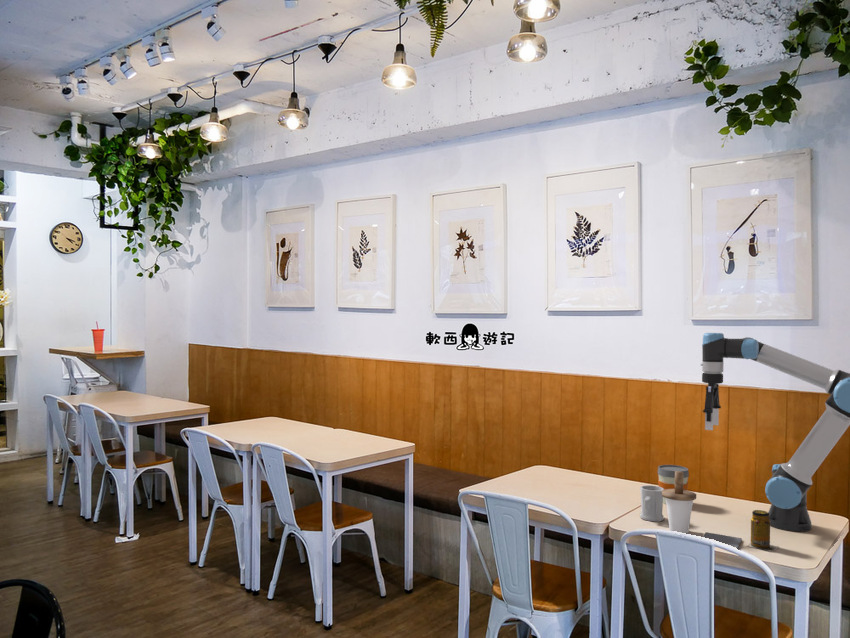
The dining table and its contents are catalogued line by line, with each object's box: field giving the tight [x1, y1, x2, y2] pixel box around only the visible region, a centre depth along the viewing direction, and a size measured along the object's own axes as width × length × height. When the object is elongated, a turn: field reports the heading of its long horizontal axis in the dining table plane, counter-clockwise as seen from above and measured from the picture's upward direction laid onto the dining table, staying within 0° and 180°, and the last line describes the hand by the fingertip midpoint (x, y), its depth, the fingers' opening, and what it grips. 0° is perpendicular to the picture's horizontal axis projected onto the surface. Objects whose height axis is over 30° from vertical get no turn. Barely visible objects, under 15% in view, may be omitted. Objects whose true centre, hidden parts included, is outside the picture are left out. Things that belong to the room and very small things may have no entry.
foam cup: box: [666, 498, 694, 534], centre depth 249 cm, size 10×9×13 cm
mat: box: [702, 531, 743, 549], centre depth 238 cm, size 12×12×1 cm
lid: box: [662, 471, 697, 501], centre depth 249 cm, size 12×12×9 cm
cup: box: [639, 484, 664, 522], centre depth 264 cm, size 10×9×12 cm
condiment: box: [746, 509, 779, 552], centre depth 234 cm, size 7×8×12 cm
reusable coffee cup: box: [657, 464, 690, 506], centre depth 287 cm, size 13×13×15 cm
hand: (711, 427), depth 261 cm, fingers open, 13 cm apart
